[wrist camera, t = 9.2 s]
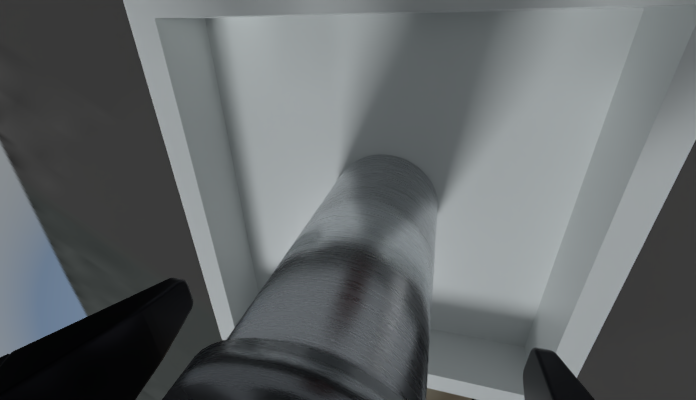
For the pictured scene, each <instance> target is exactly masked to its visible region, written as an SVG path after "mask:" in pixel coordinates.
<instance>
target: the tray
mask: <svg viewBox="0 0 696 400" xmlns="http://www.w3.org/2000/svg"><path fill="white" fill-rule="evenodd" d="M123 2H124V5H125V9H126V12H127V15H128V19H129V22H130V26H131V29H132V33H133V36H134V39H135V43H136V46H137V50H138V53H139V57H140V60H141V63H142V67H143V70H144V74H145V77H146V81H147V84H148V87H149V91H150V94H151V98H152V101H153V105H154V108H155V111H156V115H157V118H158V122H159V125H160V129H161V132H162V135H163V139H164V142H165V146H166V149H167V153H168V156H169V159H170V163H171V166H172V170H173V173H174V177H175V180H176V183H177V187H178V190H179V194H180V197H181V201H182V204H183V207H184V211H185V214H186V218H187V221H188V225H189V228H190V231H191V235H192V238H193V242H194V245H195V249H196V252H197V255H198V259H199V262H200V266H201V269H202V273H203V276H204V279H205V283H206V286H207V290H208V293H209V297H210V300H211V303H212V307H213V310H214V314H215V317H216V321H217V324H218V327H219V331H220V334H221V338H222V340H226V339H227V338H228V337H229V335H230V334H231V332H232V331H233V329H234V328H235V327H236V325H237V324H238V322H239V321H240V319H241V318H242V316H243V315H244V314H245V312H246V311H247V309H248V308H249V306H250V305H251V304H252V302H253V301H254V299H255V298H256V296H257V295H258V293H259V292H260V291H261V289H262V288H263V286H264V285H265V283H266V282H267V281H268V279H269V278H270V276H271V275H272V273H273V272H274V271H275V269H276V268H277V266H278V265H279V263H280V262H281V260H282V259H283V258H284V256H285V255H286V253H287V252H288V250H289V249H290V248H291V246H292V245H293V243H294V242H295V240H296V239H297V237H298V236H299V235H300V233H301V232H302V230H303V229H304V227H305V226H306V225H307V223H308V222H309V220H310V219H311V217H312V216H313V214H314V213H315V212H316V210H317V209H318V207H319V206H320V204H321V203H322V202H323V200H324V199H325V197H326V196H327V194H328V193H329V192H330V190H331V189H332V187H333V186H334V184H335V183H336V181H337V180H338V179H339V177H340V176H341V174H342V173H343V172H344V170H345V169H346V168H347V167H348V166H349V165H351V164H352V163H353V162H355V161H357V160H359V159H361V158H364V157H367V156H371V155H378V154H384V155H393V156H397V157H401V158H403V159H406V160H408V161H410V162H412V163H413V164H415V165H416V166H418V167H419V168H420V169H421V170H422V171H423V172H424V173H425V174H426V175H427V176H428V178H429V179H430V181H431V182H432V184H433V186H434V188H435V191H436V195H437V201H438V207H437V224H436V241H435V258H434V275H433V292H432V309H431V326H430V343H429V360H428V377H427V388H430V389H434V390H438V391H443V392H447V393H451V394H455V395H460V396H464V397H468V398H472V399H477V400H525V398H524V387H523V370H524V367H525V365H526V362H527V359H528V357H529V354H530V351H531V350H532V348H534V347H537V348H543V349H548V350H552V351H554V352H555V353H556V354H557V355H558V356H559V357H560V359H561V360H562V361H563V362H564V363H565V365H566V366H567V367H568V368H569V369H570V371H571V372H572V373H573V374H574V375H575V377H576V378H577V376H578V374H579V372H580V370H581V368H582V366H583V364H584V362H585V360H586V358H587V356H588V354H589V352H590V350H591V348H592V346H593V344H594V342H595V340H596V338H597V336H598V334H599V332H600V330H601V328H602V326H603V324H604V322H605V320H606V318H607V316H608V314H609V312H610V310H611V308H612V306H613V304H614V302H615V300H616V298H617V296H618V294H619V292H620V290H621V288H622V286H623V284H624V282H625V280H626V278H627V276H628V274H629V272H630V270H631V268H632V266H633V264H634V262H635V260H636V258H637V256H638V254H639V252H640V250H641V248H642V246H643V244H644V242H645V240H646V238H647V236H648V234H649V232H650V230H651V228H652V226H653V224H654V222H655V220H656V218H657V216H658V214H659V212H660V210H661V208H662V206H663V204H664V202H665V200H666V198H667V196H668V194H669V192H670V190H671V188H672V186H673V184H674V182H675V180H676V178H677V176H678V174H679V172H680V170H681V168H682V166H683V164H684V162H685V160H686V158H687V156H688V154H689V152H690V150H691V148H692V146H693V144H694V142H695V140H696V0H123Z"/></svg>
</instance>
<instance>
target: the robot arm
mask: <svg viewBox="0 0 696 400" xmlns="http://www.w3.org/2000/svg"><path fill="white" fill-rule="evenodd" d="M192 306H193V299H192V295H191V292H190V289H189V286H188V283H187V282H186V281H185V280H183V279H178V278H169V279H167V280H165V281H163V282H161V283H159V284H156V285H154V286H152V287H150V288H148V289H146V290H144V291H141V292H139V293H137V294H135V295H133V296H131V297H129V298H126V299H124V300H122V301H120V302H118V303H116V304H114V305H112V306H109V307H107V308H105V309H103V310H101V311H99V312H97V313H94V314H92V315H90V316H88V317H86V318H84V319H82V320H80V321H77V322H75V323H73V324H71V325H69V326H67V327H64V328H62V329H60V330H58V331H56V332H54V333H52V334H50V335H47V336H45V337H43V338H41V339H39V340H37V341H35V342H32V343H30V344H28V345H26V346H24V347H22V348H20V349H17V350H15V351H13V352H12V353H11V354H7V355H5V356H3V357H0V400H135V399H136V398H137V396H138V395H139V394H140V392H141V391H142V389H143V388H144V386H145V385H146V383H147V382H148V380H149V379H150V378H151V376H152V375H153V373H154V372H155V370H156V369H157V367H158V366H159V364H160V363H161V361H162V360H163V358H164V357H165V355H166V353H167V352H168V350H169V348H170V346H171V345H172V343H173V341H174V339H175V337H176V336H177V334H178V332H179V330H180V329H181V327H182V325H183V323H184V322H185V320H186V318H187V316H188V314H189V313H190V311H191V309H192ZM523 387H524V398H525V400H594V398H593V397H592V396H591V395H590V394H589V392H588V391H587V390H586V389H585V387H584V386H583V385H582V384H581V383H580V381H579V380H578V379H577V378H576V377H575V375H574V374H573V373H572V372H571V371H570V369H569V368H568V367H567V366H566V365H565V363H564V362H563V361H562V360H561V359H560V357H559V356H558V355H557V354H556V353H555V352H554V351H552V350H548V349H543V348H537V347H534V348H532V350H531V351H530V354H529V357H528V359H527V362H526V365H525V367H524V370H523Z"/></svg>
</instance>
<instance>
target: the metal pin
mask: <svg viewBox="0 0 696 400" xmlns="http://www.w3.org/2000/svg"><path fill="white" fill-rule="evenodd" d="M437 207H438V201H437V195H436V191H435V188H434V186H433V184H432V182H431V181H430V179H429V178H428V176H427V175H426V174H425V173H424V172H423V171H422V170H421V169H420V168H419V167H418V166H416V165H415V164H413V163H412V162H410V161H408V160H406V159H403V158H401V157H397V156H393V155H384V154H378V155H371V156H367V157H364V158H361V159H359V160H357V161H355V162H353V163H352V164H351V165H349V166H348V167H347V168H346V169H345V170H344V172H343V173H342V174H341V176H340V177H339V179H338V180H337V181H336V183H335V184H334V186H333V187H332V189H331V190H330V192H329V193H328V194H327V196H326V197H325V199H324V200H323V202H322V203H321V204H320V206H319V207H318V209H317V210H316V212H315V213H314V214H313V216H312V217H311V219H310V220H309V222H308V223H307V225H306V226H305V227H304V229H303V230H302V232H301V233H300V235H299V236H298V237H297V239H296V240H295V242H294V243H293V245H292V246H291V248H290V249H289V250H288V252H287V253H286V255H285V256H284V258H283V259H282V260H281V262H280V263H279V265H278V266H277V268H276V269H275V271H274V272H273V273H272V275H271V276H270V278H269V279H268V281H267V282H266V283H265V285H264V286H263V288H262V289H261V291H260V292H259V293H258V295H257V296H256V298H255V299H254V301H253V302H252V304H251V305H250V306H249V308H248V309H247V311H246V312H245V314H244V315H243V316H242V318H241V319H240V321H239V322H238V324H237V325H236V327H235V328H234V329H233V331H232V332H231V334H230V335H229V337H228V338H227V339H226V340H223V341H220V342H217V343H214V344H211V345H210V346H208V347H206V348H204V349H202V350H201V351H200V352H199V353H198V354H197V355H196V356H195V357H194V358H193V360H192V361H191V362H190V363H189V365H188V366H187V367H186V369H185V370H184V371H183V373H182V374H181V375H180V377H179V378H178V379H177V381H176V382H175V383H174V385H173V386H172V387H171V389H170V390H169V391H168V393H167V394H166V395H165V397H164V398H163V399H162V400H426V393H427V377H428V360H429V343H430V326H431V309H432V292H433V275H434V258H435V241H436V224H437Z"/></svg>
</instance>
